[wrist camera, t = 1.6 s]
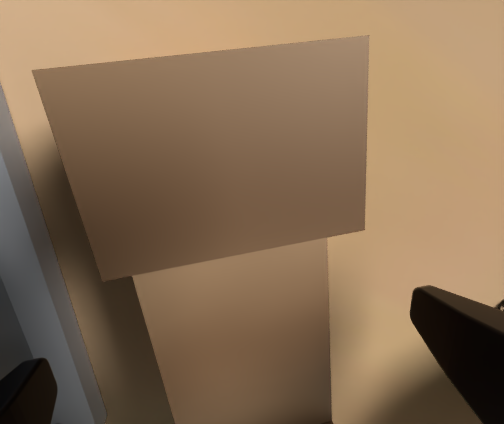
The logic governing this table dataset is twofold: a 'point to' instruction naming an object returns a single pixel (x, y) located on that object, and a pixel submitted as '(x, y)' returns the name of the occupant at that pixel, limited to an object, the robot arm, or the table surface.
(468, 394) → the robot arm
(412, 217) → the table surface
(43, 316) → the jig
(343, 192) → the tan flanged beam
